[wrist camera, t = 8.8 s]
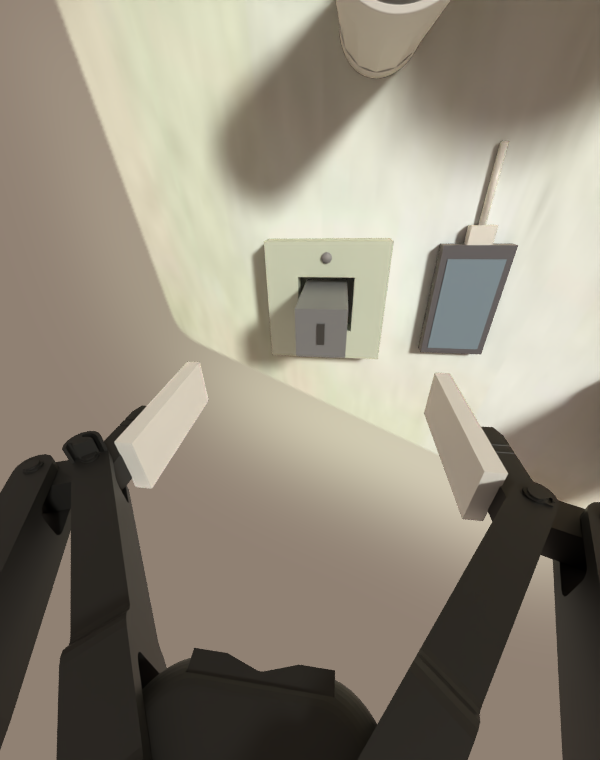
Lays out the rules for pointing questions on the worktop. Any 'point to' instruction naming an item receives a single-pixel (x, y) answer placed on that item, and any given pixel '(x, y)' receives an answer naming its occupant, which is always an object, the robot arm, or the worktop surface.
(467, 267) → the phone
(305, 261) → the outlet plate
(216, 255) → the worktop surface
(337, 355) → the block
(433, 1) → the cup
